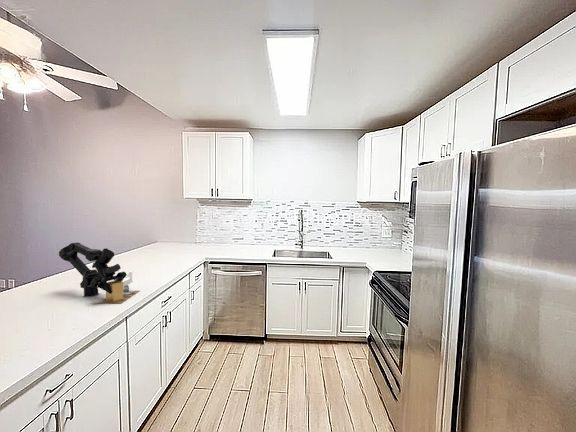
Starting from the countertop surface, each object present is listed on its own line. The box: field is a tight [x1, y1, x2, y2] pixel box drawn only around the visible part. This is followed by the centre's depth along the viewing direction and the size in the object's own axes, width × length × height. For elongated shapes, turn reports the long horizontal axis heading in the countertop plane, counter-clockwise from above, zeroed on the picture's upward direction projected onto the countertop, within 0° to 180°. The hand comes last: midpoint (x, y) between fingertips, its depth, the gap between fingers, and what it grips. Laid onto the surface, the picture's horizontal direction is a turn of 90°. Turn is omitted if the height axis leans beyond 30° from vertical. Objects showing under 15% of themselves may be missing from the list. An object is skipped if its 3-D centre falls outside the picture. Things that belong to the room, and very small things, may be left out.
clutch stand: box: [97, 284, 141, 305], centre depth 196 cm, size 26×12×6 cm, turn 1°
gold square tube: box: [105, 280, 123, 303], centre depth 189 cm, size 6×6×10 cm
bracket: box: [119, 270, 133, 287], centre depth 229 cm, size 13×7×8 cm, turn 1°
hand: (116, 291), depth 188 cm, fingers open, 6 cm apart
